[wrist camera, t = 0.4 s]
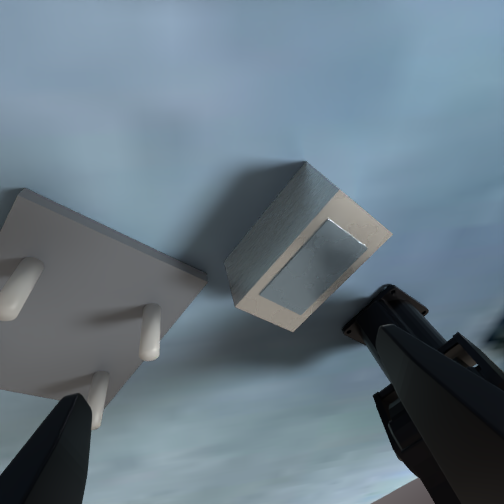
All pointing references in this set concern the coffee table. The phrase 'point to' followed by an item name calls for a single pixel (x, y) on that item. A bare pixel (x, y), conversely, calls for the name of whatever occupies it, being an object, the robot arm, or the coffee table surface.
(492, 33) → the coffee table surface
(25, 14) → the coffee table surface
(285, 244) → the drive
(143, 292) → the pegged base plate
